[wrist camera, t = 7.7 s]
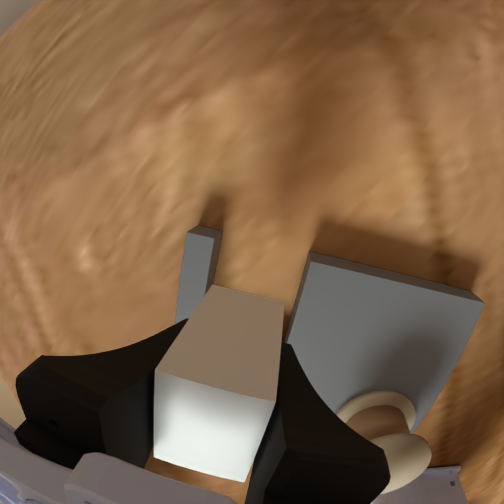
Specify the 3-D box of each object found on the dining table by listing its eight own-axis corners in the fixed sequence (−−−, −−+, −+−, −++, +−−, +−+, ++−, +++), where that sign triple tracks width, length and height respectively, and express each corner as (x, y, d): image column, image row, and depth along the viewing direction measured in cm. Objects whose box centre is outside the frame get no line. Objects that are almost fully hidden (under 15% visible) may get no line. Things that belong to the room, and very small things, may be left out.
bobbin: (428, 393, 17) (449, 440, 12) (390, 450, 19) (400, 495, 14) (349, 384, 17) (359, 438, 13) (317, 444, 19) (318, 494, 15)
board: (470, 291, 17) (484, 302, 15) (380, 454, 21) (383, 471, 19) (197, 225, 18) (186, 232, 16) (173, 418, 22) (166, 434, 21)
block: (284, 301, 13) (276, 401, 7) (263, 377, 14) (244, 482, 8) (212, 284, 13) (155, 369, 7) (199, 361, 14) (154, 457, 8)
